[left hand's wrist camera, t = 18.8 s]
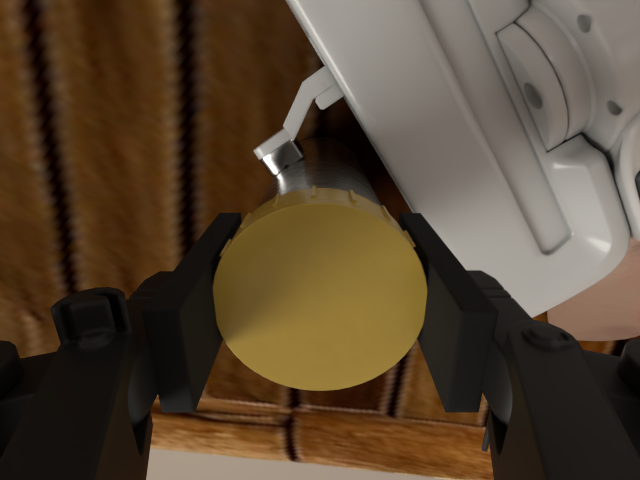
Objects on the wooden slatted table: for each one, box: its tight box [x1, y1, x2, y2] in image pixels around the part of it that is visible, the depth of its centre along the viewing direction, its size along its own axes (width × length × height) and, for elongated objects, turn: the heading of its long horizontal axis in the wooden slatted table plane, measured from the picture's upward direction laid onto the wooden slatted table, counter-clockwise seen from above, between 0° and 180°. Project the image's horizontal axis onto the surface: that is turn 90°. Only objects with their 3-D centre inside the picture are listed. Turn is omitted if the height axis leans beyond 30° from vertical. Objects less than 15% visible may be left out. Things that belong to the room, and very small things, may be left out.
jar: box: [257, 137, 381, 209], centre depth 18 cm, size 5×5×15 cm
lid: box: [213, 185, 428, 391], centre depth 11 cm, size 6×6×2 cm
